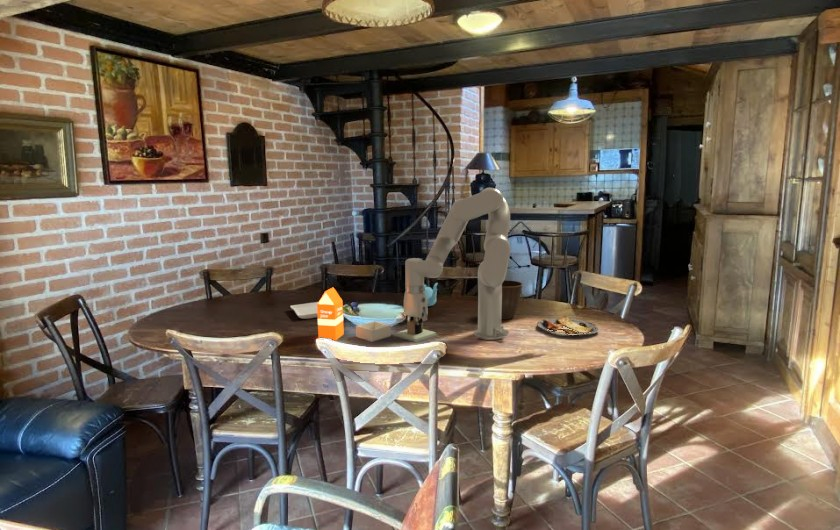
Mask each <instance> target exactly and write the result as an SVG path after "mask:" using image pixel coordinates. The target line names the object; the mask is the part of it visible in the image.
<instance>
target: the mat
mask: <svg viewBox="0 0 840 530" xmlns="http://www.w3.org/2000/svg"><path fill="white" fill-rule="evenodd" d="M436 336H439V334H437V333H436V335H434V336H431V337H428V338H425V339H422V340H418V341H412V340H409V339H405V338H402V337H399V336H395V333H394V334H391V337H395V338H398V339H402V340H405V341H409V342H412V343H419V342H421V341H425V340H428V339H431V338H434V337H436Z"/></svg>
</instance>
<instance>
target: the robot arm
mask: <svg viewBox="0 0 840 530" xmlns="http://www.w3.org/2000/svg"><path fill="white" fill-rule="evenodd" d="M446 215H447V216H446V217H445V220H444V222H443V223H442V225H441V228H440V229H439V232H438V233H437V235H436V238H435V240H434V242H433V244H432V246H431V248H430V250H429V252H428V255H427V256H426V258H425V260H423V259H422V258H419V257H417V258H416V257H412V258H408V259H407V258H406V259H405V261H404V262H405V263H404V265H405V266H404V267H405V269H404V270H405V271H404V273H405V276H404V277H405V283H404V285H405V291H404V296H403V312H402V314H403V316H404V317H405V318H406V320H407V322H408V321H412V320H415V319H416V325H415V334H420V333H422V324H423V325H424V322H425V321H427V320H428V314H429V311H428V310H429V309H428V307H429V306H427V298H426V293H425V292H424V291H425V288H424V285H425V278H429V279H435V278H438V277H440V276H441V275H443V271H444V264H445V262H446V260H447V258H448V255H449V254H450V252H451V251H452V249H453V248H454V246H456V245H457V244H458V242H460V239H461V237H462V235H463V232H464V231H465V229H466V227H467V224H468V222H469V221H470V220H474V219H477V218H479V217H482V216H484V215H488V218H487V227H486V232H485V236H484V237H485V238H484V240H483V250H484V256H483V261H481V263H480V264H479V265H478V268H477V290H478V291H477V296H478V298H477V330H474V332H473V336H474V337H475V338H477V339H480V340H487V341H495V340H501V339H504V338H505V337H507V336H508V334H509V330H508V329H504V328H505V327H504V325H503V324H502V319H501V313H502V283H503V281H504V280H506V276H507V273H508V271H507V270H508V267H509V266H508V265H509V262H510V255H511V243H510V242H509V240H508V237H509V231H510V223H511V211H510V206H509V204H508V202H507V200H506V198H505V197H504V196H503V194H502V192H501V190H499V189H497V188H494V187H486V188H484V189H482V190H481V191H479V193H476V194H473V195H471V196H468V197H465V198H457V199H456V200H454V202H453V203H452V205H451V207H450V209H449V211H448V213H447V214H446ZM419 319H420V320H419Z"/></svg>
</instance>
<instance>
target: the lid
mask: <svg viewBox="0 0 840 530" xmlns="http://www.w3.org/2000/svg"><path fill="white" fill-rule="evenodd" d="M419 320H420V318H419ZM415 325H416V318H414V320H412V321H407V322H406V326H407V327H406V329H404V330H400V331H397V332H394V334H395V336H399V337H402V338H405V339H409V340H412V341H418V340H422V339H425V338H428V337H431V336H434V335H436V334H437V332H435V331H432V330H428V329H424V323H423V324H422V333H420V334H415ZM395 336H394V337H395ZM431 338H432V337H431ZM405 339H404V340H405ZM428 339H429V338H428ZM425 340H426V339H425ZM422 341H423V340H422Z"/></svg>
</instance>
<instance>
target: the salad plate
mask: <svg viewBox="0 0 840 530" xmlns="http://www.w3.org/2000/svg"><path fill="white" fill-rule="evenodd" d="M318 302H319V301H315V302H306V303H300V304H293V305H290V309H291V310H292V311H293V312H294V313H295V315H296V316H297V318H300V319H302V320H305V319H306V320H307V319H308V320H309V319H315V318H317V319H318V314H317V304H318Z"/></svg>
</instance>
